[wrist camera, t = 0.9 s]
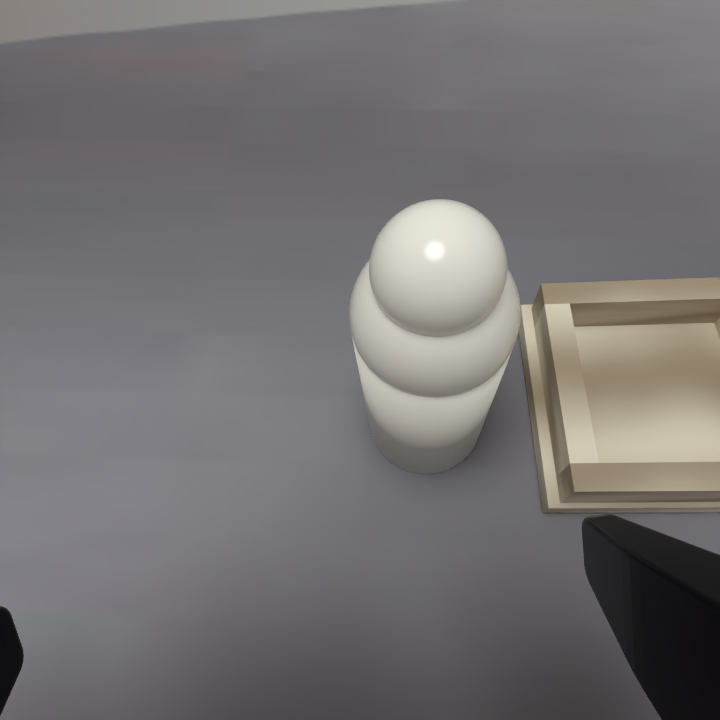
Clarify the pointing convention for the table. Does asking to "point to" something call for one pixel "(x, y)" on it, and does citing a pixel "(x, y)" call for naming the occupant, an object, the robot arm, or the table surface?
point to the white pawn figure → (433, 332)
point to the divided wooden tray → (625, 394)
